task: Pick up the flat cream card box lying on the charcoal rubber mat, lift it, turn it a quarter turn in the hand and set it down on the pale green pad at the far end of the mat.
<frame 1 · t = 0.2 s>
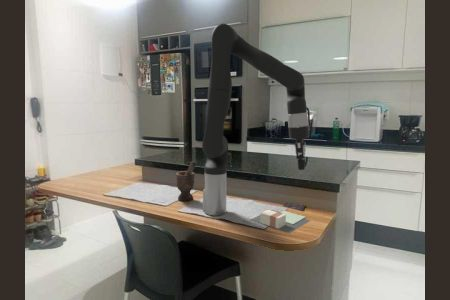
hand: (302, 167, 116), 22 cm above the countertop, tool pointing down, fingers open, 8 cm apart
card box: (272, 223, 114), point 1 cm above the countertop, touching mat
mortar and pestle: (188, 200, 144), on the countertop
mat: (279, 221, 118), on the countertop
chocolate bar: (291, 212, 130), on the countertop
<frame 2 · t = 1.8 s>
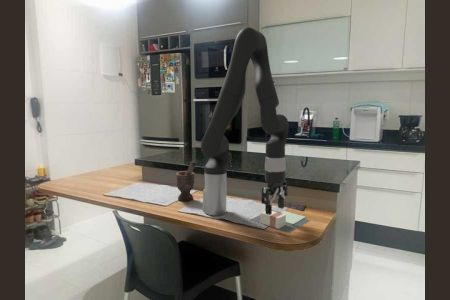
hand: (274, 211, 113), 6 cm above the countertop, tool pointing down, fingers open, 8 cm apart
nothing on the countertop moved.
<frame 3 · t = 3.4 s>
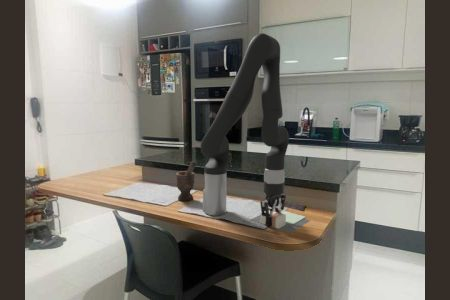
hand: (272, 223, 114), 1 cm above the countertop, tool pointing down, fingers closed on card box, 5 cm apart
card box: (272, 223, 114), point 1 cm above the countertop, touching gripper, mat
everything else where it was.
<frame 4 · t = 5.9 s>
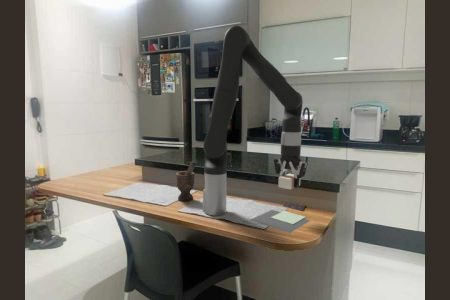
hand: (289, 186, 118), 14 cm above the countertop, tool pointing down, fingers closed on card box, 5 cm apart
card box: (289, 186, 118), point 14 cm above the countertop, touching gripper
everything else where it was.
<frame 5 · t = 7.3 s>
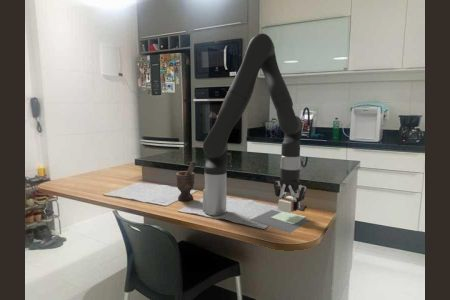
hand: (288, 208, 120), 4 cm above the countertop, tool pointing down, fingers closed on card box, 5 cm apart
card box: (288, 208, 120), point 4 cm above the countertop, touching gripper
everything else where it was.
when the fingers open (3 cm above the countertop, at t = 8.6 s): card box drops 2 cm, resting on mat.
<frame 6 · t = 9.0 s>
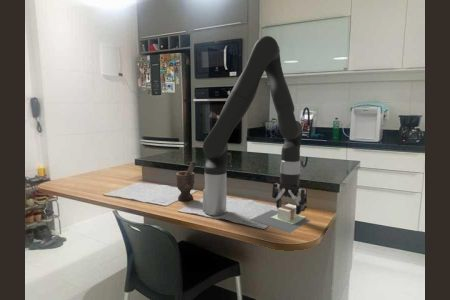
hand: (288, 211, 120), 3 cm above the countertop, tool pointing down, fingers open, 8 cm apart
card box: (288, 217, 120), point 1 cm above the countertop, touching mat
everything else where it was.
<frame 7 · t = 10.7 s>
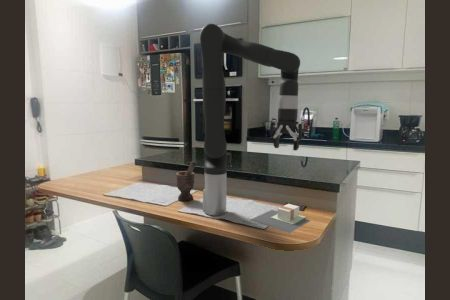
hand: (285, 149, 119), 28 cm above the countertop, tool pointing down, fingers open, 8 cm apart
nothing on the countertop moved.
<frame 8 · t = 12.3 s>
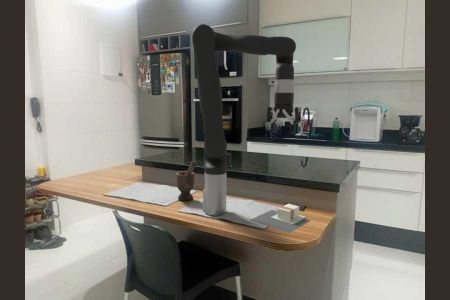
hand: (282, 133, 120), 34 cm above the countertop, tool pointing down, fingers open, 8 cm apart
nothing on the countertop moved.
at the end: card box inside the target area on the mat (0.1 cm from its centre), point 0.9 cm above the mat's base; card box tilted 0°; the gripper is holding nothing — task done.
